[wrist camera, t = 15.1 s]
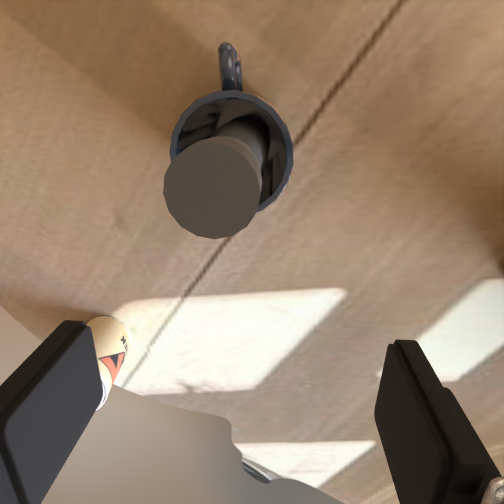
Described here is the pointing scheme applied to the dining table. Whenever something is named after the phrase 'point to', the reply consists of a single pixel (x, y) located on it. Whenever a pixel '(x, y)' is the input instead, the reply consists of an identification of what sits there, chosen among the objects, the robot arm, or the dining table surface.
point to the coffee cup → (109, 348)
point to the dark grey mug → (233, 106)
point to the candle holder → (219, 179)
